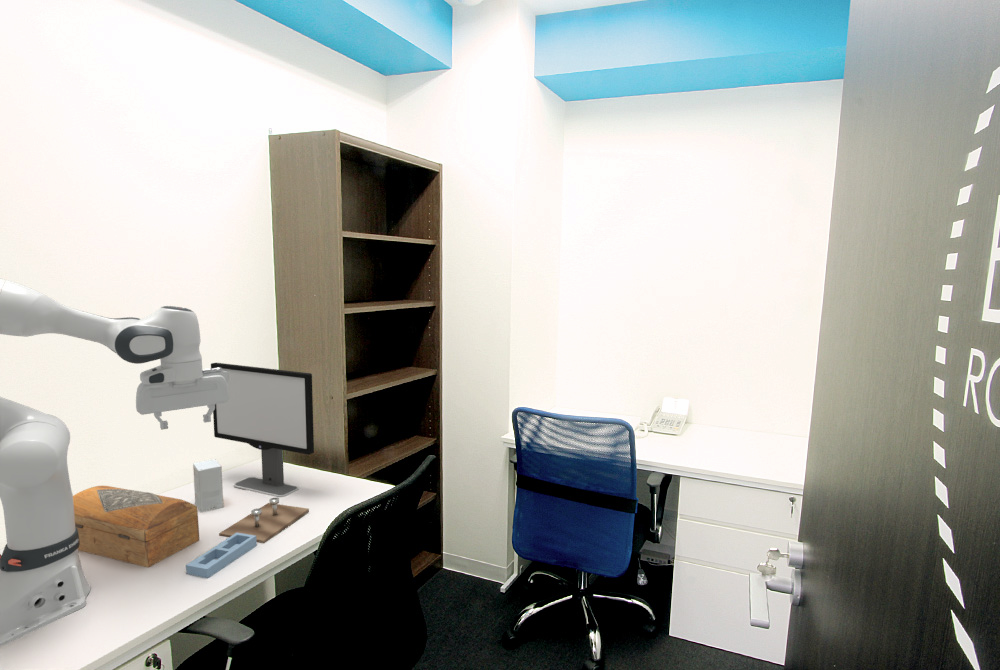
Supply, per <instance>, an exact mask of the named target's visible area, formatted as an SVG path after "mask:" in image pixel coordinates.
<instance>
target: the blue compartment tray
mask: <svg viewBox="0 0 1000 670" xmlns="http://www.w3.org/2000/svg"><path fill="white" fill-rule="evenodd" d="M257 545H258V542H257V541H256V536H255V535H249V534H243V533H235V534H234V535H232V536H231V537H226V539H223V541H221V542H220V543H218V544H217V545H215V546H213V547H212V548H211V549H209V550H208V551H205V552H204V553H203V554H201V555H200V556H198V557H196V558H195V559H193V560H191V561H190V562H189V563H187V564H186V565H185V571H186V575H189V576H193V577H194V576H196V577H200V578H204V579H209V578H210V577H212V576H213V575H215V574H217V573H218V572H219V571H221V570H223V569H224V568H225V567H227V566H229V565H230V564H232V562H234V561H235V560H237V559H239V558H241V557H242V556H243V555H244V554H246V553H247V552H249V551H251V550H252V549H254V548H255V547H256V546H257Z"/></svg>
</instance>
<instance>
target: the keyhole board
mask: <svg viewBox="0 0 1000 670" xmlns="http://www.w3.org/2000/svg"><path fill="white" fill-rule="evenodd" d="M259 509H262V514H261V515H259V525H260V526H259V527H255V519H254V516H252V515H251V513H250V514H248V515H246V516H245V517H243V518H241V519H240V520H238V521H237V522H235V523H233V524H231V525H230V526H228V527H227V528H225V529H224V530H222V531H221V532H219V533H218V535H219V536H221V537H224V538H229V537H231V536H232V535H234V534H235V533H243V534H249V535H255V536H256V541H257V543H261V544H265V543H267V542H268V541H270V540H271V539H272V538H274V537H275V536H277V535H278V534H280V533H281V532H283V531H285V530H286V529H288V528H289V527H290V526H291V525H293V524H294V523H296V522H298V520H300V519H301V518H302V517H305V515H307V514H308V513H309V512H310V508H307V507H299V506H292V505H287V504H286V505H285V504H279V503H278V504H277V515H275V516H273V512H272V505H271V504H270V502H267V503H266V504H265V505H262V506H261V507H259ZM288 526H289V527H288ZM285 528H286V529H285ZM282 530H283V531H282Z"/></svg>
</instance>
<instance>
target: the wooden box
mask: <svg viewBox="0 0 1000 670" xmlns="http://www.w3.org/2000/svg"><path fill="white" fill-rule="evenodd" d="M73 504H74V516H75V527H76V528H77V529H78V533H79V542H80V545H79V548H78V552H79V551H80V552H84V553H89V554H93V555H95V556H96V555H98V556H100V557H105V558H109V559H112V560H117V561H122V562H126V563H129V564H133V565H137V566H141V567H147V568H150V567H152V566H154V565H156V564H158V563H160V562H161V561H163V560H166V559H168V558H169V557H172V555H175V554H177V553H178V552H180V551H182V550H184V549H185V548H187V547H190V546H192V545H193V544H195V543H197V542H199V541H200V528H199V526H200V525H199V524H200V523H199V515H198V508H197V506H196V504H194V503H191V502H189V501H186V500H183V499H182V498H175V497H170V496H165V495H160V494H157V493H156V494H155V493H152V492H147V491H142V490H141V491H139V490H133V489H127V488H123V487H122V488H121V487H116V486H115V487H114V486H111V485H110V486H109V485H96V486H91V487H89V488H86V489H83V490H82V491H79V492H76V493H75V494H73Z"/></svg>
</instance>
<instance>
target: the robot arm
mask: <svg viewBox="0 0 1000 670" xmlns="http://www.w3.org/2000/svg"><path fill="white" fill-rule="evenodd" d="M200 331H201V330H200V324H199V318H198V316H197V314H196V313H195V311H193V310H192V309H189V308H187V307H181V306H173V305H172V306H171V305H164V306H161V307H159V309H158V310H156V311H155V312H153V313H151V314H149V315H147V316H144V317H142V318H139V317H133V316H131V317H130V316H129V317H117V318H116V317H115V318H113V317H112V318H111V317H106V316H102V315H98V314H95V313H91V312H87V311H84V310H79V309H75V308H72V307H71V306H70V307H69V306H67V305H64V304H62V303H60V302H59V301H57V300H55V299H53V298H52V297H50V296H48V295H46V294H44V293H42V292H40V291H38V290H35V289H33V288H30V287H28V286H26V285H23V284H20V283H17V282H15V281H12V280H7V279H4V278H0V335H4V336H5V335H6V336H10V337H11V336H14V337H25V338H26V337H32V336H38V335H46V334H57V335H63V336H64V335H65V336H67V337H74V338H77V339H81V340H86V341H91V342H93V343H98V344H101V345H103V346H105V347H107V348H108V349H109V350H110V351H112V352H113V353H115V354H116V355H117V356H118V357H119V358H120V359H122V360H123V361H124V362H127V363H131V364H136V365H137V364H145V363H149V362H154V361H157V360H160V364H159V365H157V366H154V367H152V368H149V369H146V370H143V371H141V373H140V374H139V380H140V383H139V384H138V386H137V388H136V392H135V393H136V395H135V409H136V412H137V413H138V414H140V415H141V416H144V415H150V414H153V416H154V418H155V419H156V420H157V422H159V425H160V426H159V427H160V430H167V429H169V424H168V423H169V422H168V420H163V419H162V415H163V414H162V413H165V412H170V411H171V412H172V411H178V410H184V409H185V410H186V409H191V408H198V407H204V406H205V407H207V408H208V410H207V412H206V414H202V418H203V420H202V421H203V423H211V422H212V419H211V418H212V415H213V411H214V409H215V404H220V403H226V402H227V401H228V400H229V390H228V386H227V382H228V380H229V376H228V372H227V370H225V369H222V368H221V367H218V368H211V367H210V368H203V359H202V358H203V357H202V353H201V352H200V345H201V332H200ZM222 370H224V371H222ZM70 442H71V431H70V430H69V428H68V426H67V425H66V424H65V422H64V421H63V420H62V419H60V418H59V417H57V416H55V415H53V414H50V413H49V414H48V413H45V412H42V411H40V410H37V409H36V408H33V407H30V406H27V405H24V404H22V403H19V402H17V401H13V400H10V399H8V398H5V397H2V396H0V501H1V505H2V510H3V518H4V525H5V537H6V538H5V539H6V544H5V546H4V549H3V550H2V553H0V647H1V646H5V645H7V644H8V643H11V642H14V641H15V640H17V639H19V638H22V637H24V636H26V635H28V634H30V633H32V632H35V631H37V630H39V629H41V628H43V627H46V626H48V625H50V624H52V623H53V622H56V621H58V620H60V619H62V618H64V617H67V616H68V615H71V614H72V613H74V612H76V611H79V610H80V609H83V608H84V607H85V606H86V605H87V601H86V600H87V599H86V598H87V597H88V595H89V593H90V591H91V585H90V584H89V582H88V580H87V578H86V575H85V572H84V569H83V566H82V565H83V564H82V562H81V557H80V553H79V550H78V548H79V545H80V542H79V533H78V529H77V528H76V527H75V516H74V504H73V496H74V494H73V491H72V487H71V479H70V475H69V466H68V465H69V464H68V450H69V445H70Z"/></svg>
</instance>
